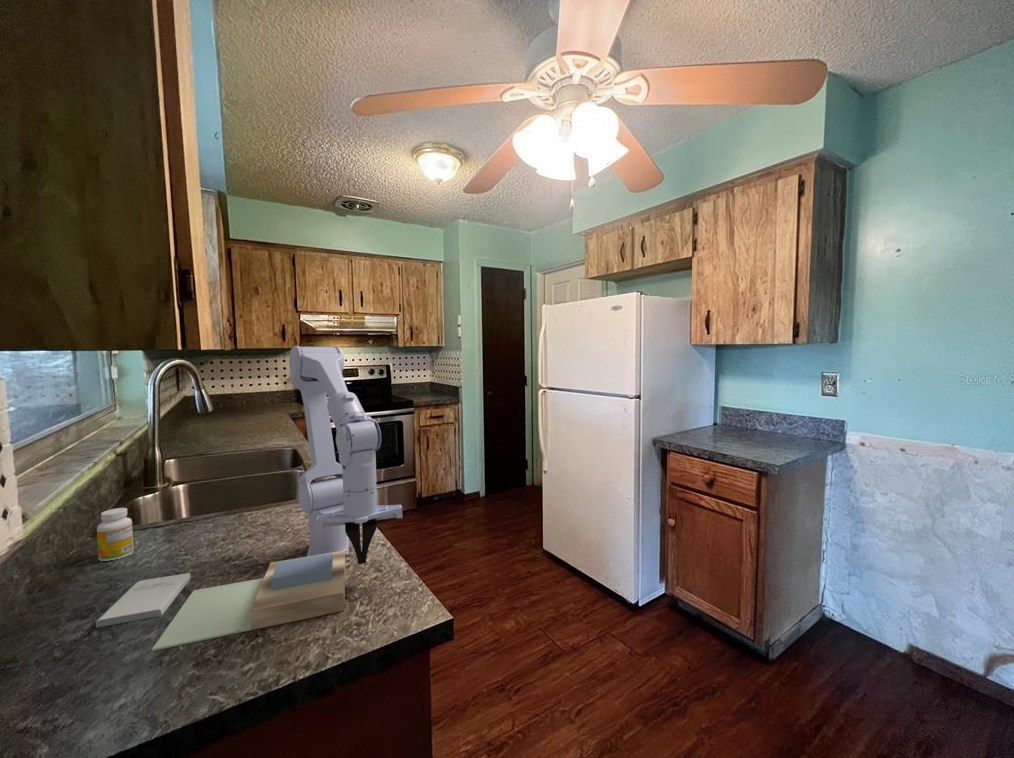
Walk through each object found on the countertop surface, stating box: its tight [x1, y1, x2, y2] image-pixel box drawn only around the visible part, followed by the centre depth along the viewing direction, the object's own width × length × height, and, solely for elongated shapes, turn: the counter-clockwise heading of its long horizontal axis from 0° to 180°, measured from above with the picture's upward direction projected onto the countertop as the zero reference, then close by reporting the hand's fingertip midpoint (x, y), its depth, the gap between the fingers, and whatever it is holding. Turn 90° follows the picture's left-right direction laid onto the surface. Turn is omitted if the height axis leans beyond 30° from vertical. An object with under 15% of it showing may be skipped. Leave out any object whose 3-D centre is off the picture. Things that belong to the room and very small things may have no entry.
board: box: [250, 551, 347, 631], centre depth 71 cm, size 16×13×3 cm
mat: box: [151, 577, 264, 652], centre depth 67 cm, size 16×12×1 cm
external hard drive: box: [95, 573, 192, 628], centre depth 70 cm, size 2×8×12 cm
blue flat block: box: [271, 553, 333, 591], centre depth 71 cm, size 6×9×2 cm, turn 111°
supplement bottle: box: [96, 507, 134, 562], centre depth 86 cm, size 5×5×10 cm
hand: (361, 561), depth 74 cm, fingers closed
